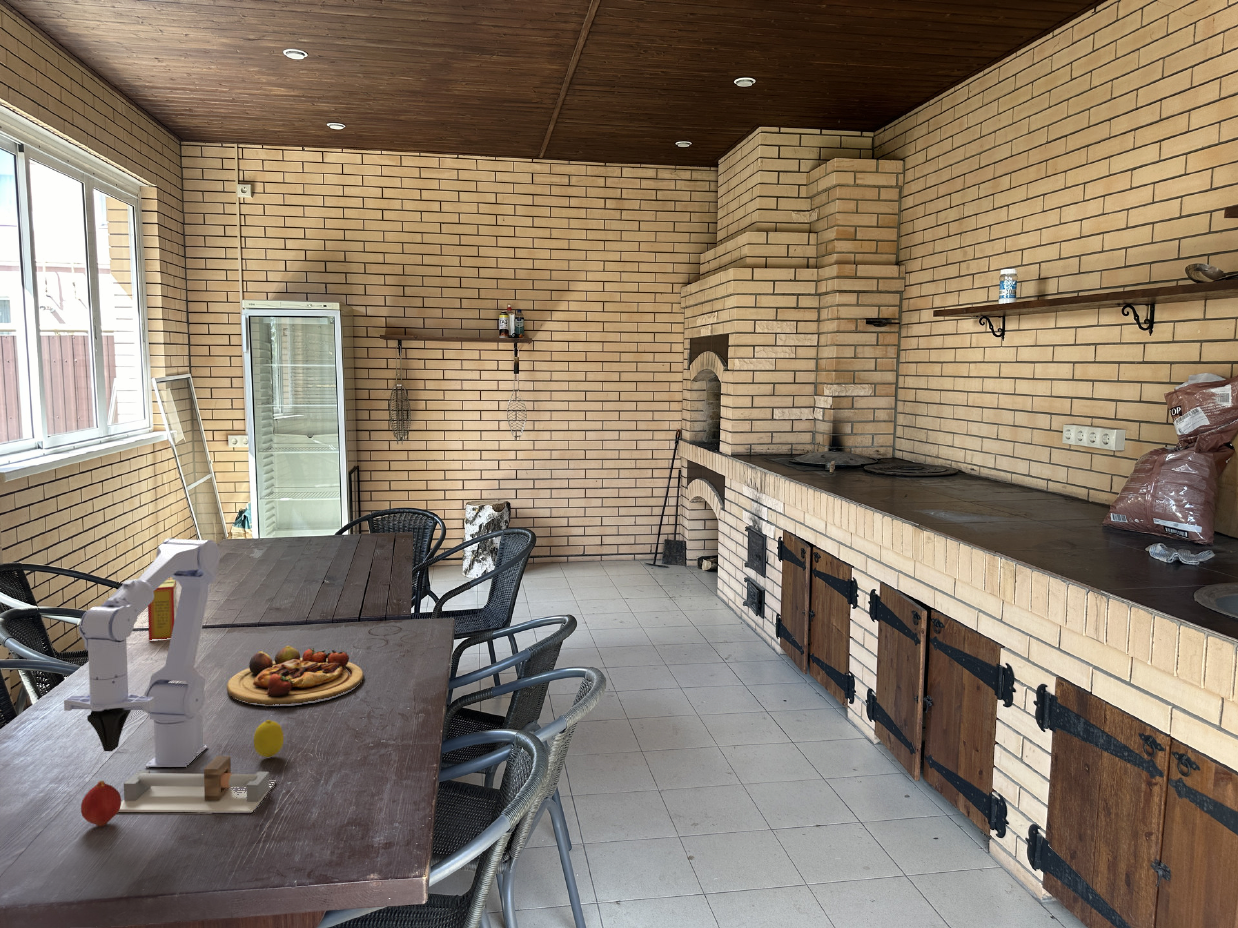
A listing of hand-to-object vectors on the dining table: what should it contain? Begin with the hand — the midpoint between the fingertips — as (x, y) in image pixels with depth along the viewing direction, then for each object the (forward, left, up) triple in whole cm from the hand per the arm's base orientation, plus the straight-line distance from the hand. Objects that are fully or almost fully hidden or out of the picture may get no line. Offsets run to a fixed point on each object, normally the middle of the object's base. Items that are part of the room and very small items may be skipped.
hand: (111, 748), depth 145 cm
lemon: (-19, +20, -11) cm, 30 cm away
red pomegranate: (+7, +2, -11) cm, 13 cm away
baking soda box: (-97, -41, -11) cm, 106 cm away
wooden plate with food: (-60, +11, -11) cm, 62 cm away
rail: (-3, +14, -10) cm, 17 cm away
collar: (-3, +17, -10) cm, 20 cm away
